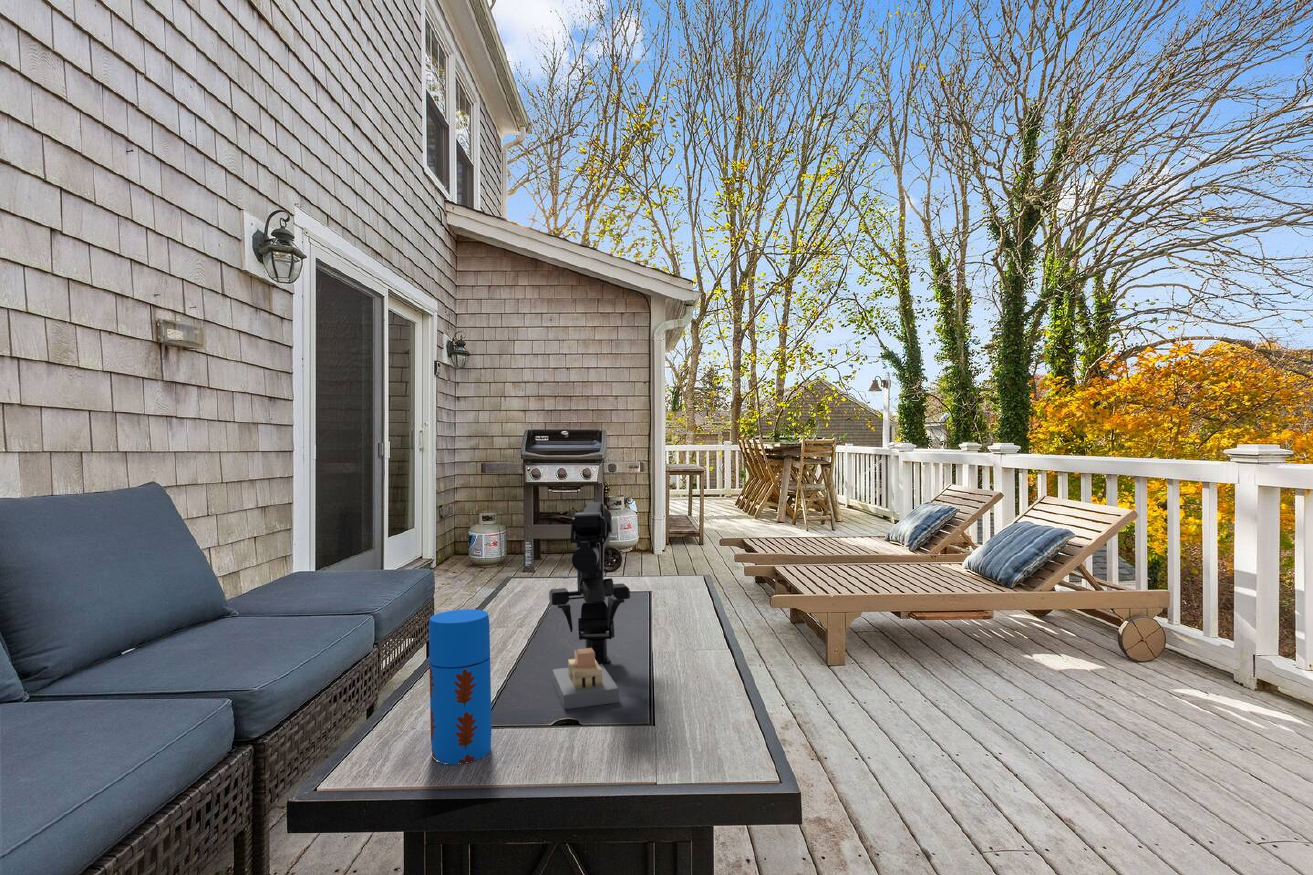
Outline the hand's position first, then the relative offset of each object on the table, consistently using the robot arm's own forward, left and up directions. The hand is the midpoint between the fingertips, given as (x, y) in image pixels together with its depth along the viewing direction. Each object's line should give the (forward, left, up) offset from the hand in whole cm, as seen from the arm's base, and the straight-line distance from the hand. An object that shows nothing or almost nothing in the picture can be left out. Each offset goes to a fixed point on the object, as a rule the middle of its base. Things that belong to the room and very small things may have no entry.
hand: (590, 629), depth 163 cm
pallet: (+8, -3, -9) cm, 12 cm away
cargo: (+8, -3, -6) cm, 10 cm away
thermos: (+30, -30, -12) cm, 44 cm away
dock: (+7, -3, -12) cm, 14 cm away
